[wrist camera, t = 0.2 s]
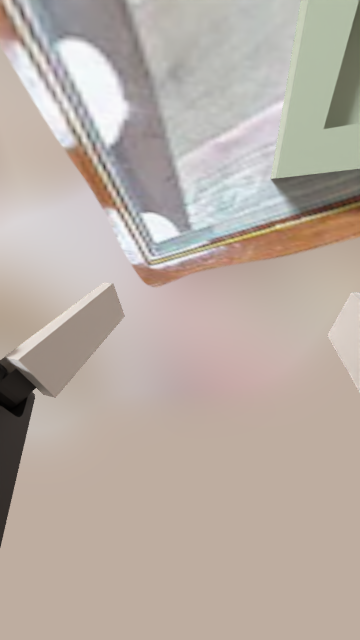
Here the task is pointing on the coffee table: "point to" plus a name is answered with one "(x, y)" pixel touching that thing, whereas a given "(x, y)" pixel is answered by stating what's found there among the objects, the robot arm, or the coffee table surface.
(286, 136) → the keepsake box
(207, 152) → the coffee table surface
